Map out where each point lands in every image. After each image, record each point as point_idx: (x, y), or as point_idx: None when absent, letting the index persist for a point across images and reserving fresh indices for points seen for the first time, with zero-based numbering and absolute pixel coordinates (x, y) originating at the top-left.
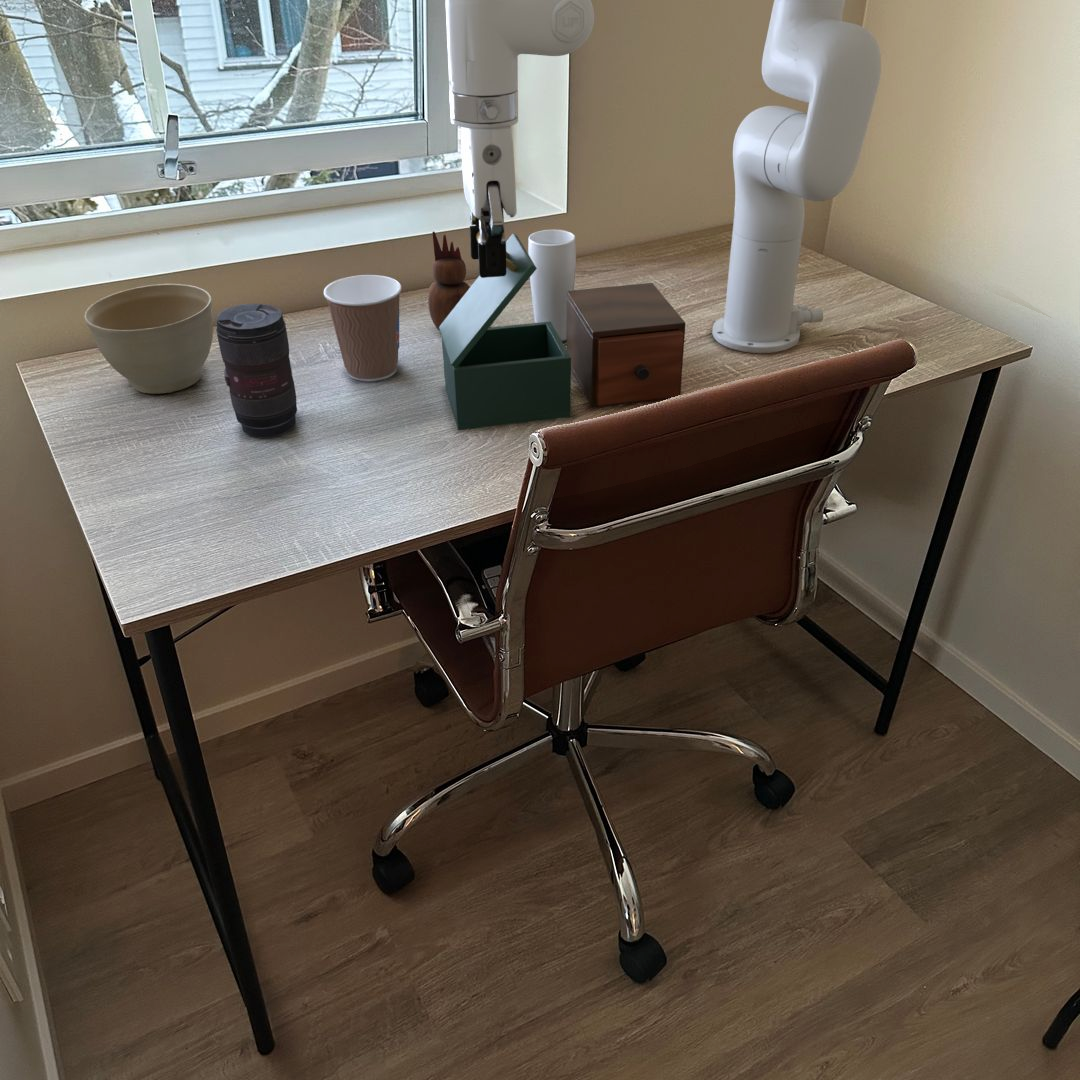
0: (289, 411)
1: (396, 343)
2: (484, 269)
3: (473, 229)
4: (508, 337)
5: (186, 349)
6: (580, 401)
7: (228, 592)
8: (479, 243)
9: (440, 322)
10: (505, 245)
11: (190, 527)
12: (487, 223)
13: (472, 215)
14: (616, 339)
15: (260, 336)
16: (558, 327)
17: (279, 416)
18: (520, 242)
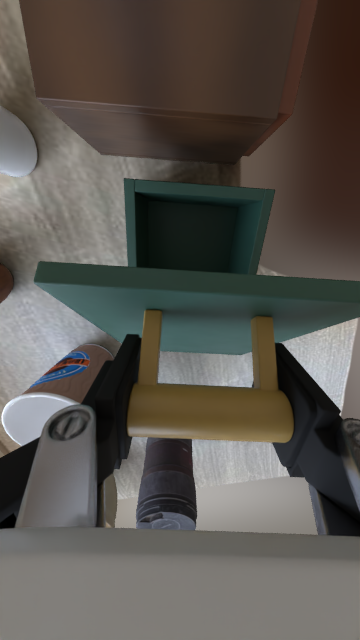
0: None
1: (90, 360)
2: None
3: (126, 455)
4: (139, 257)
5: (107, 489)
6: (211, 173)
7: None
8: (295, 474)
9: (4, 298)
10: (332, 403)
11: (268, 454)
12: (112, 437)
13: (105, 518)
14: (299, 61)
15: (196, 513)
16: (21, 136)
17: None
18: (130, 275)
